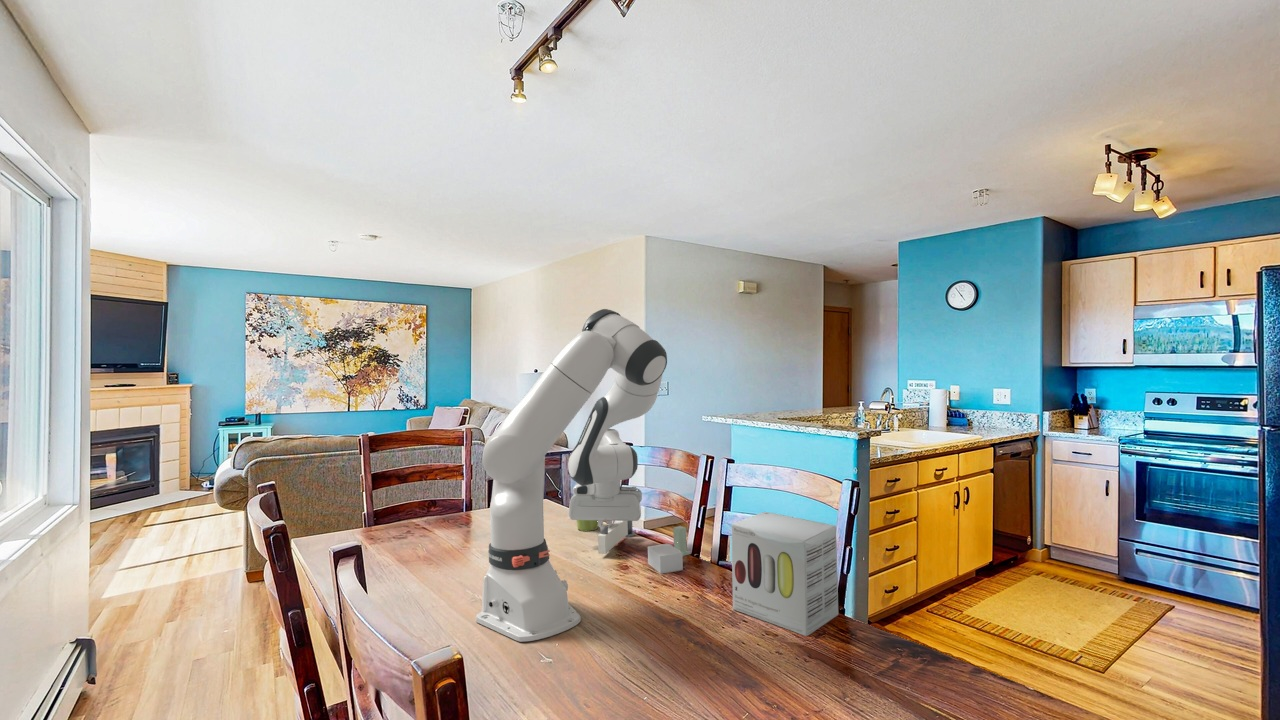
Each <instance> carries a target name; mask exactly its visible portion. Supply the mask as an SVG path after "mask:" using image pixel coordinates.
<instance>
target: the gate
mask: <svg viewBox="0 0 1280 720" xmlns="http://www.w3.org/2000/svg"><path fill="white" fill-rule="evenodd" d="M607 526H608V525H607ZM607 526H605V525H603V526H602V527H599V529H600V531H599V532H600V533H599V534H598V535H597V543H598V544H597V549H598V551H597V553H598V554H602V555H606V554H607V553H608V552H609V551H610V550H612V549H613V548H614V547H615V546H616V545H618V544H619V543H620V542H621V541H622V540H623V539H624V538H626V537H625V536H626V535H627V534H628V524H627V521H614V522H612V524H611V526H609V527H607Z"/></svg>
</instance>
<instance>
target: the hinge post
mask: <svg viewBox="0 0 1280 720" xmlns="http://www.w3.org/2000/svg"><path fill="white" fill-rule="evenodd" d="M627 524H628V534H627V535H626V536H625V537H624V538H633V537H635V536H636V532H635V531H633V521H627Z"/></svg>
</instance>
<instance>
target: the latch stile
mask: <svg viewBox="0 0 1280 720" xmlns="http://www.w3.org/2000/svg"><path fill="white" fill-rule="evenodd" d="M672 529H673V547H675V548H676V549H678V550H679V551H681V552H682V555H683V557H686V556H688V555H692V551H690V550H687V527H685V526H681V525H678V526H674V527H673V528H672ZM677 542H678V543H677Z"/></svg>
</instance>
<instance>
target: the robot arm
mask: <svg viewBox="0 0 1280 720" xmlns="http://www.w3.org/2000/svg"><path fill="white" fill-rule="evenodd" d="M667 364H668V356H667V351H666V350H665V348H664V347H663V345H661V343H660V342H658V341H657V340H656V339H653V338H652V336H650V335H649V334H648V333H646V332H645V331H644V330H643V329H642V328H641V327H640V326H639V325H637V324H636V323H634V322H633V321H631V320H629V319H628V318H626V317H624V316H622V315H621V314H619V312H616V311H614V310H612V309H608V308H603V309H600V310H597V311H595V312H593V313H592V314H590V316H589V317H588V318H587V319H586V320H585V323H584V324H583V326H582V329H581V332H579V333H577V335H575V336H574V337H573V338H572V339H571V340H569V342H567V343H566V345H565V346H564V347H562V348H561V350H560V351H558V353H557V354H556V355H555V356H554V358H553V359H552V360H551V362H549V364H548V366H546V368H545V369H544V370H543V372H542V373H541V374H540V376H539V377H538V378H537V379H536V381H535V382H534V384H533V385H532V386H531V387H530V389H529V390H528V391H527V392H526V394H525V395H524V396H523V397H522V398H521V399H520V401H518V403H517V404H516V405H515V406H514V407H513V408H512V410H511V411H510V412H509V413H508V415H507V416H506V417H505V418H504V419H503V421H502V422H501V423H500V424H499V425H498V427H497V428H495V430H494V432H493V433H492V434H491V436H490V437H489V438H488V439H487V440H486V442H485V444H484V447H483V450H482V458H481V459H482V460H481V461H482V466H483V469H484V471H485V473H486V474H487V475H488V476H489V477H490V478H491V479H492V480H493V481H492V490H491V498H490V506H489V520H490V521H489V524H490V526H489V527H490V531H489V532H490V543H489V544H488V552H487V556H488V563H489V564H490V565H489V566H488V570H487V572H486V574H485V575H484V577H483V583H482V597H481V599H482V600H481V601H482V602H481V611H479V613H477V614H476V616H475V622H476V623H478V624H480V625H481V626H484V627H486V628H488V629H491V630H493V631H495V632H497V633H499V634H501V635H504V636H506V637H508V638H510V639H512V640H515V641H516V642H525V643H526V642H532V641H538V640H542V639H545V638H549V637H553V636H555V635H558V634H560V633H564V632H565V631H567V630H570V629H571V628H574V627H575V626H577V625H578V624H579V623H580V622H581V621H582V617H581V615H580V614H579V612H578V611H577V610H576V609H574V607H572V605H571V604H570V603H569V598H568V589H569V585H568V582H567V580H566V579H563V580H561V579H560V576H559V575H558V572H557V570H556V569H554V567H553V565H552V564H551V562H550V553H549V552H550V551H551V550H549V547H548V544H547V541H546V538H545V533H544V532H545V530H544V529H545V524H544V520H545V519H544V496H545V495H544V492H545V491H544V490H545V473H546V472H545V471H546V470H545V469H546V466H545V464H546V455H547V454H548V452H549V451H550V450H551V449H552V447H553V446H554V444H555V443H556V442H557V440H558V439H559V438H560V436H562V434H563V433H564V432H565V430H566V428H568V426H569V425H570V423H571V422H572V421H573V419H574V418H575V417H576V416H577V414H578V413H579V411H581V409H582V408H583V407H584V405H585V404H586V403H587V402H588V401H589V399H590V398H591V396H592V395H593V394H594V392H595V391H596V389H597V388H598V386H600V383H602V381H603V379H604V377H605V376H606V374H607V372H608V371H609V370H610V369H612V370H613V371H615V372H616V375H615V379H614V382H613V383H612V386H611V387H610V388H609V389H608V391H607V392H606V393H605V394H604V395H603V396H602V397H600V398H599V399H597V400H596V401H595V403H594V405H593V407H592V409H591V411H590V413H589V415H588V419H587V421H586V422H585V425H584V427H583V430H582V432H581V434H580V437H579V439H578V441H577V443H576V445H575V446H574V448H573V449H572V450H571V452H570V454H569V457H568V460H567V470H568V471H567V472H568V476H569V478H571V479H572V480H573V481H574V482H575V483H576V484H575V485H574V486H573V488H572V493H573V495H572V496H571V498H570V500H569V501H570V502H569V508H568V516H569V519H570V520H572V521H577V520H598V527H599V528H600V527H602V526H604V521H605V523H606V525H607V527H609V526H611V525H612V524H613V521H614V522H616V521H632V522H637V521H639V520H640V519H641V517H642V507H641V502H642V499H643V492H642V491H641V489H639V488H638V487H637V486H622V485H621V481H625V480H628V479H632V478H633V476H634V475H636V472H637V470H638V465H639V464H638V463H639V462H638V461H639V460H638V453H637V451H636V450H635V449H634V448H633V447H632V446H631V445H629V444H626V443H624V442H623V440H622V439H621V438H620V434H619V431H618V430H617V429H614V428H612V427H614V426H616V425H619V424H622V423H624V422H627V421H631V420H634V419H637V418H640V417H642V416H643V415H645V414H647V413H648V412H649V411H650V410H651V409H652V408H653V406H654V404H655V402H656V401H657V397H658V394H659V392H660V391H659V390H660V387H661V384H662V383H661V382H662V378H663V373H664V372H665V370H666V368H667Z"/></svg>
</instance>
